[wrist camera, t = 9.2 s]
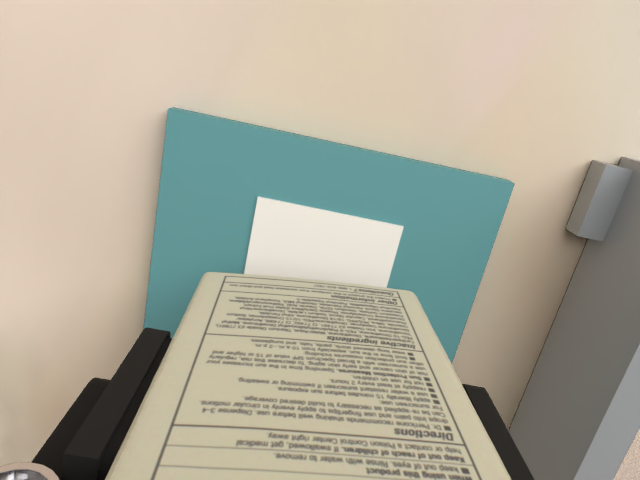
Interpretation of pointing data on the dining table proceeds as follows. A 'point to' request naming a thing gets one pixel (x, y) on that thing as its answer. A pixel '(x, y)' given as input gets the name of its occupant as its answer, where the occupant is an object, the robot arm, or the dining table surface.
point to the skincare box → (305, 390)
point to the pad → (316, 218)
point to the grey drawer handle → (591, 342)
